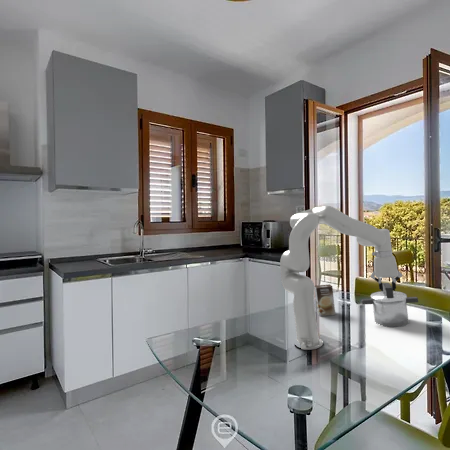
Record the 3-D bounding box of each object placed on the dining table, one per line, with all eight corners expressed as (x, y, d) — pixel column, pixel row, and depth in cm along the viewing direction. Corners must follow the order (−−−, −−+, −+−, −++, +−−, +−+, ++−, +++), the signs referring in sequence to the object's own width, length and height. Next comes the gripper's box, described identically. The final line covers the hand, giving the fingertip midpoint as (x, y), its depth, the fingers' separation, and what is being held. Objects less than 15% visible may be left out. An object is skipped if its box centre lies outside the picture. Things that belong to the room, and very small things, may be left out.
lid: (410, 301, 151) (409, 288, 151) (373, 303, 156) (372, 290, 155) (402, 292, 166) (401, 280, 166) (368, 294, 171) (367, 282, 171)
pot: (415, 315, 165) (412, 292, 164) (424, 326, 150) (421, 300, 150) (362, 317, 172) (360, 294, 172) (366, 327, 158) (363, 303, 157)
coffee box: (319, 316, 182) (315, 288, 182) (317, 312, 188) (313, 285, 188) (335, 314, 181) (332, 286, 181) (333, 311, 187) (329, 283, 187)
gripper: (366, 256, 159) (370, 293, 160) (404, 253, 154) (408, 291, 155) (364, 254, 166) (368, 289, 167) (401, 251, 161) (405, 287, 162)
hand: (387, 290), depth 161 cm, fingers open, 4 cm apart
